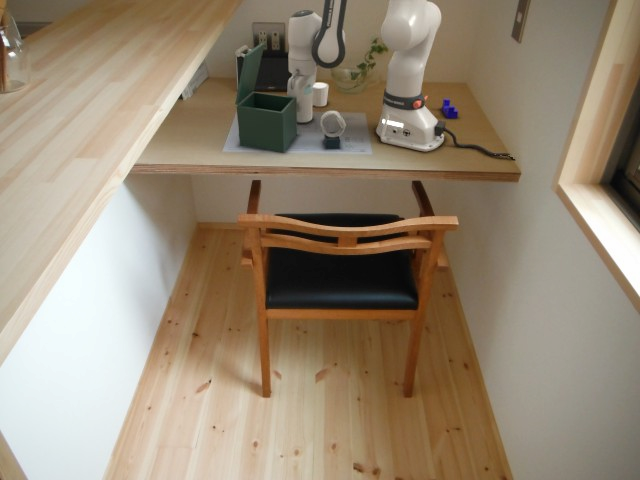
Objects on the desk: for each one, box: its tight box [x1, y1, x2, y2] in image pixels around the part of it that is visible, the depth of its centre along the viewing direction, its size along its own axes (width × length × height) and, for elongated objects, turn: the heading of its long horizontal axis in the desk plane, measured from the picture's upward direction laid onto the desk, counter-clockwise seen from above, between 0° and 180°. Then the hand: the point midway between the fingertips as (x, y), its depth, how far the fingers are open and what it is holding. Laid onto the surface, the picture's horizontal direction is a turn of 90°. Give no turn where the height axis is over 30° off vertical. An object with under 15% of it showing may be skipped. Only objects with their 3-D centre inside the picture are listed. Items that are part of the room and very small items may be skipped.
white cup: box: [312, 81, 330, 108], centre depth 170 cm, size 7×7×7 cm
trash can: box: [235, 91, 298, 153], centre depth 144 cm, size 15×13×13 cm
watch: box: [319, 110, 347, 150], centre depth 143 cm, size 6×8×11 cm
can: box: [297, 84, 314, 124], centre depth 157 cm, size 7×7×12 cm
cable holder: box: [441, 98, 459, 119], centre depth 166 cm, size 8×4×4 cm, turn 2°
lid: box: [234, 42, 266, 106], centre depth 136 cm, size 15×13×5 cm
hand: (301, 106), depth 158 cm, fingers closed on can, 7 cm apart
